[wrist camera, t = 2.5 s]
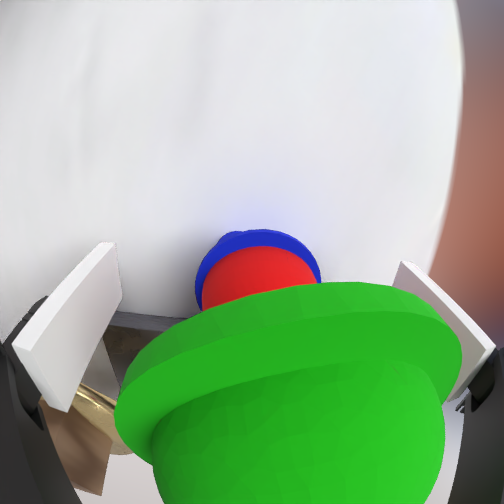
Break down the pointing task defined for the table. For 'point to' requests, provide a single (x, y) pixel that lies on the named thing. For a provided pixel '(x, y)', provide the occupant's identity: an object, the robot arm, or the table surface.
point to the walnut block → (78, 447)
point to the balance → (119, 368)
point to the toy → (291, 386)
